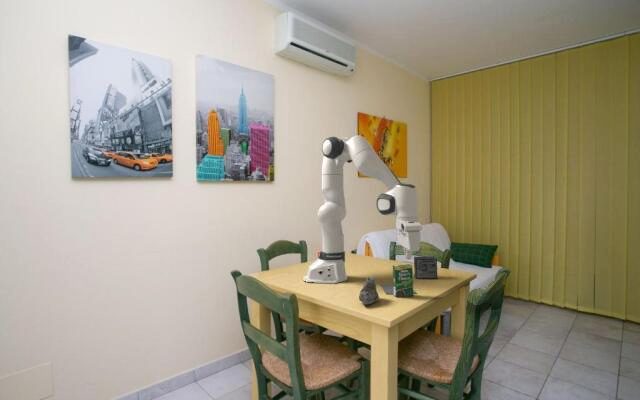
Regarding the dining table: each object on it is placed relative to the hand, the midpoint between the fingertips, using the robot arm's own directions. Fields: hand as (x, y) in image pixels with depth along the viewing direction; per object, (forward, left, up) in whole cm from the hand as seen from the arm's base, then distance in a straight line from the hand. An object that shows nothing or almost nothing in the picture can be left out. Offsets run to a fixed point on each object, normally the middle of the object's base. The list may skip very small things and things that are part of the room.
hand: (408, 258), depth 136 cm
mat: (0, +17, -17) cm, 24 cm away
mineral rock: (-17, +1, -18) cm, 24 cm away
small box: (+19, +38, -18) cm, 46 cm away
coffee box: (0, +8, -17) cm, 19 cm away
